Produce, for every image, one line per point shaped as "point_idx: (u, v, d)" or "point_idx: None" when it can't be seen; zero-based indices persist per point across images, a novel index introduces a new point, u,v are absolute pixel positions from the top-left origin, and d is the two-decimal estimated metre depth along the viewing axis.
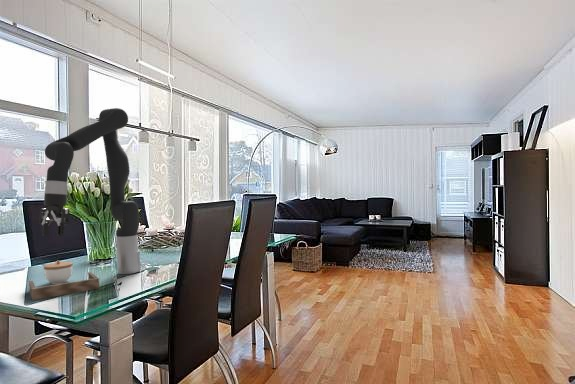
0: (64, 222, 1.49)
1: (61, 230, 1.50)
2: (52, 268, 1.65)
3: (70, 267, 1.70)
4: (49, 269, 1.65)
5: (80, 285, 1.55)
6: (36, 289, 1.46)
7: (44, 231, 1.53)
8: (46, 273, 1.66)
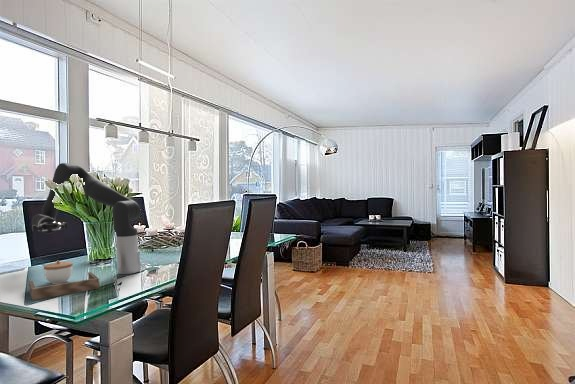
0: (32, 229, 1.81)
1: (38, 229, 1.79)
2: (52, 268, 1.65)
3: (70, 267, 1.70)
4: (49, 269, 1.65)
5: (80, 285, 1.55)
6: (36, 289, 1.46)
7: (61, 228, 1.84)
8: (46, 273, 1.66)
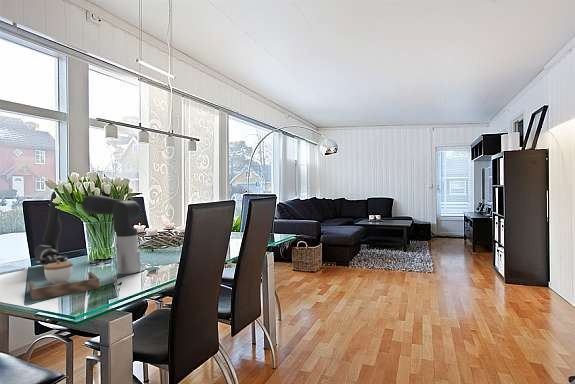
0: (45, 263, 1.82)
1: (50, 263, 1.81)
2: (52, 268, 1.65)
3: (70, 267, 1.70)
4: (49, 269, 1.65)
5: (80, 285, 1.55)
6: (36, 289, 1.46)
7: None
8: (46, 273, 1.66)
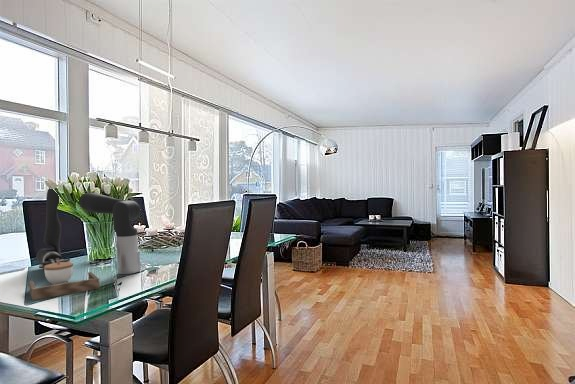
0: None
1: None
2: (52, 268, 1.64)
3: (71, 267, 1.69)
4: (49, 269, 1.64)
5: (80, 285, 1.55)
6: (36, 289, 1.46)
7: None
8: (46, 273, 1.65)
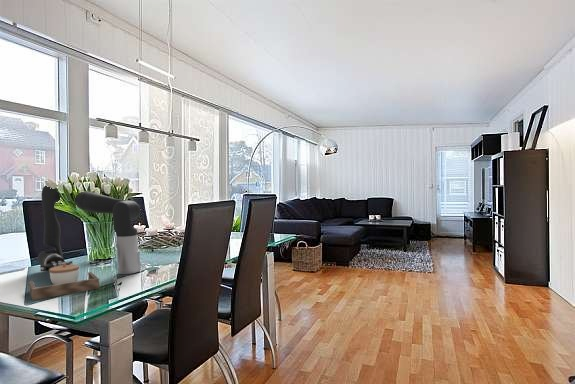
0: None
1: None
2: (62, 271, 1.59)
3: (78, 269, 1.65)
4: (58, 272, 1.58)
5: (80, 285, 1.55)
6: (36, 289, 1.46)
7: None
8: (54, 277, 1.58)
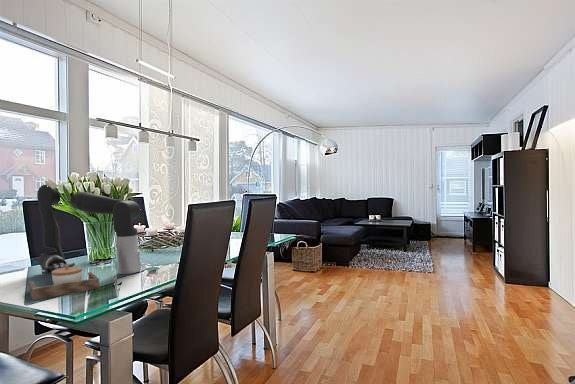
0: (51, 272, 1.65)
1: None
2: (65, 273, 1.54)
3: (81, 272, 1.61)
4: (62, 275, 1.54)
5: (80, 285, 1.55)
6: (36, 289, 1.46)
7: None
8: (57, 279, 1.54)
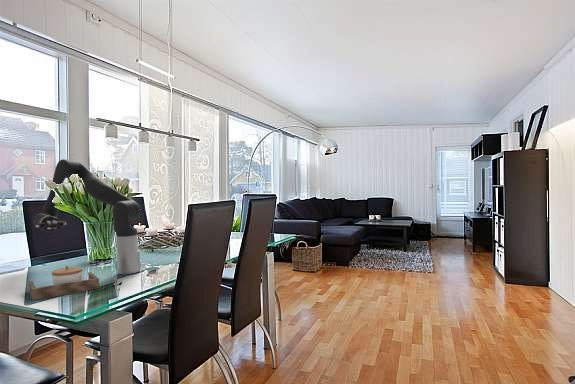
0: (44, 227, 1.80)
1: (49, 226, 1.79)
2: (65, 274, 1.54)
3: (81, 272, 1.60)
4: (62, 275, 1.54)
5: (80, 285, 1.55)
6: (36, 289, 1.46)
7: (53, 227, 1.79)
8: (57, 280, 1.54)
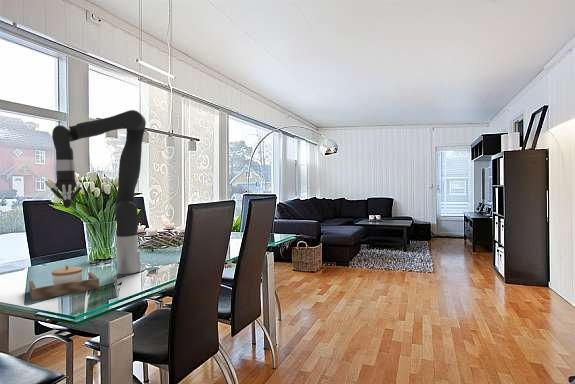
0: None
1: (63, 203, 1.82)
2: (65, 274, 1.54)
3: (81, 272, 1.61)
4: (62, 275, 1.54)
5: (80, 285, 1.55)
6: (36, 289, 1.46)
7: None
8: (57, 280, 1.54)
